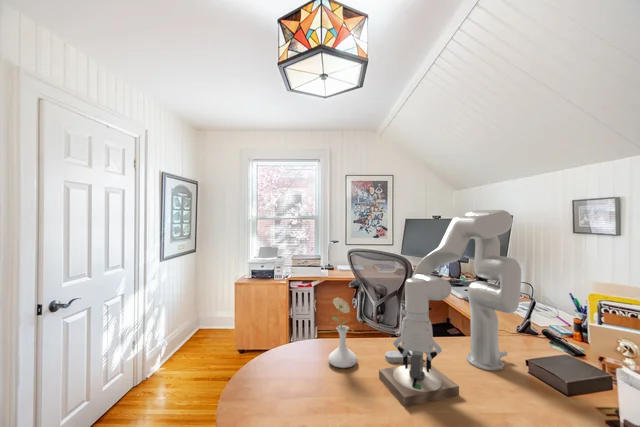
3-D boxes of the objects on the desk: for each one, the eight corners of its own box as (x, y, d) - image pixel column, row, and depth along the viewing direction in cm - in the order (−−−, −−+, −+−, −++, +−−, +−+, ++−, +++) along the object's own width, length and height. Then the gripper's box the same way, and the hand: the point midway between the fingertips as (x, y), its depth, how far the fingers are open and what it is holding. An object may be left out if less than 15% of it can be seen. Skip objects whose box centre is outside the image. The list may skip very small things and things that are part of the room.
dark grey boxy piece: (411, 369, 99) (411, 348, 100) (426, 372, 97) (426, 352, 97) (405, 385, 90) (405, 362, 90) (421, 389, 88) (421, 366, 88)
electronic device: (383, 333, 116) (419, 332, 116) (384, 357, 116) (420, 356, 116) (386, 339, 111) (424, 338, 111) (387, 364, 111) (425, 362, 111)
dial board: (427, 369, 106) (427, 360, 106) (459, 395, 90) (459, 385, 90) (379, 377, 100) (379, 368, 100) (404, 407, 85) (404, 396, 85)
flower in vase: (363, 366, 108) (362, 301, 108) (337, 374, 103) (337, 305, 103) (345, 352, 119) (345, 293, 120) (321, 357, 114) (321, 296, 115)
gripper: (389, 316, 95) (389, 369, 94) (445, 322, 89) (445, 379, 89) (391, 309, 102) (391, 359, 102) (443, 314, 96) (443, 367, 96)
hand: (416, 368), depth 95 cm, fingers open, 6 cm apart
